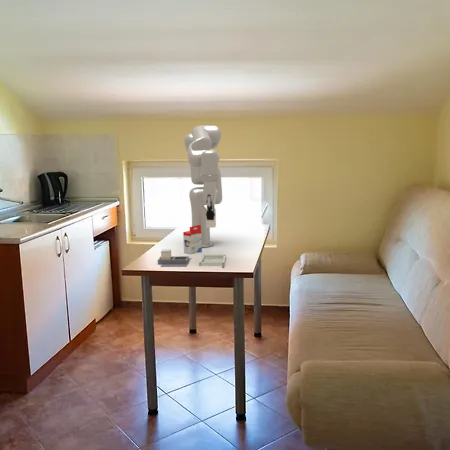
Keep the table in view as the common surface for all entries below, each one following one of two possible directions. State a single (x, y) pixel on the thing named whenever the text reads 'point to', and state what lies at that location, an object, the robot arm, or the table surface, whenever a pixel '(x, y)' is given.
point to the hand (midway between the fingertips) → (210, 218)
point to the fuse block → (172, 259)
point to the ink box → (193, 240)
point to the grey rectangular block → (211, 222)
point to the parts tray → (213, 262)
